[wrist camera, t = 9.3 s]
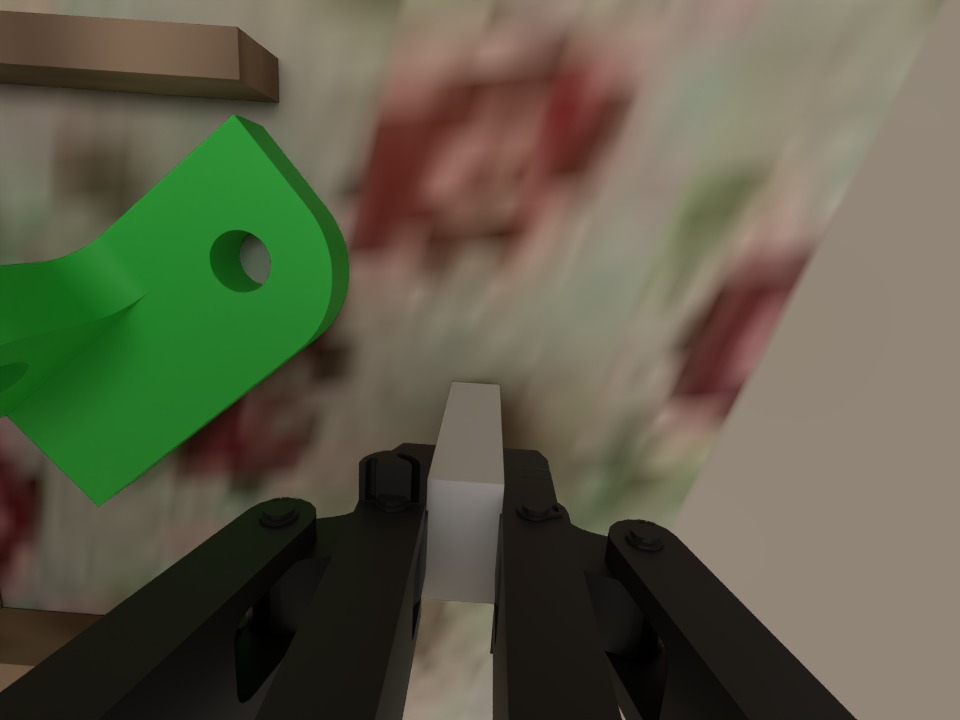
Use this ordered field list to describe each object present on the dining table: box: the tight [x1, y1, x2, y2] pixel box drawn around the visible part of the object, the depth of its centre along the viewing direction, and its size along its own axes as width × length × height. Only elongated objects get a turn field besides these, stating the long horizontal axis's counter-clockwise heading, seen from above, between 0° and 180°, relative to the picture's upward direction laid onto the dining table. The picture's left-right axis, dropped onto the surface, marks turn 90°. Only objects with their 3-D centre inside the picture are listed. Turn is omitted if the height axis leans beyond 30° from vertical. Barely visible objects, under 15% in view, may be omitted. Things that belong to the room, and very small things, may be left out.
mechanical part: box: [0, 114, 349, 507], centre depth 14 cm, size 12×6×8 cm, turn 127°
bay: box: [0, 11, 279, 691], centre depth 17 cm, size 13×21×3 cm, turn 176°
